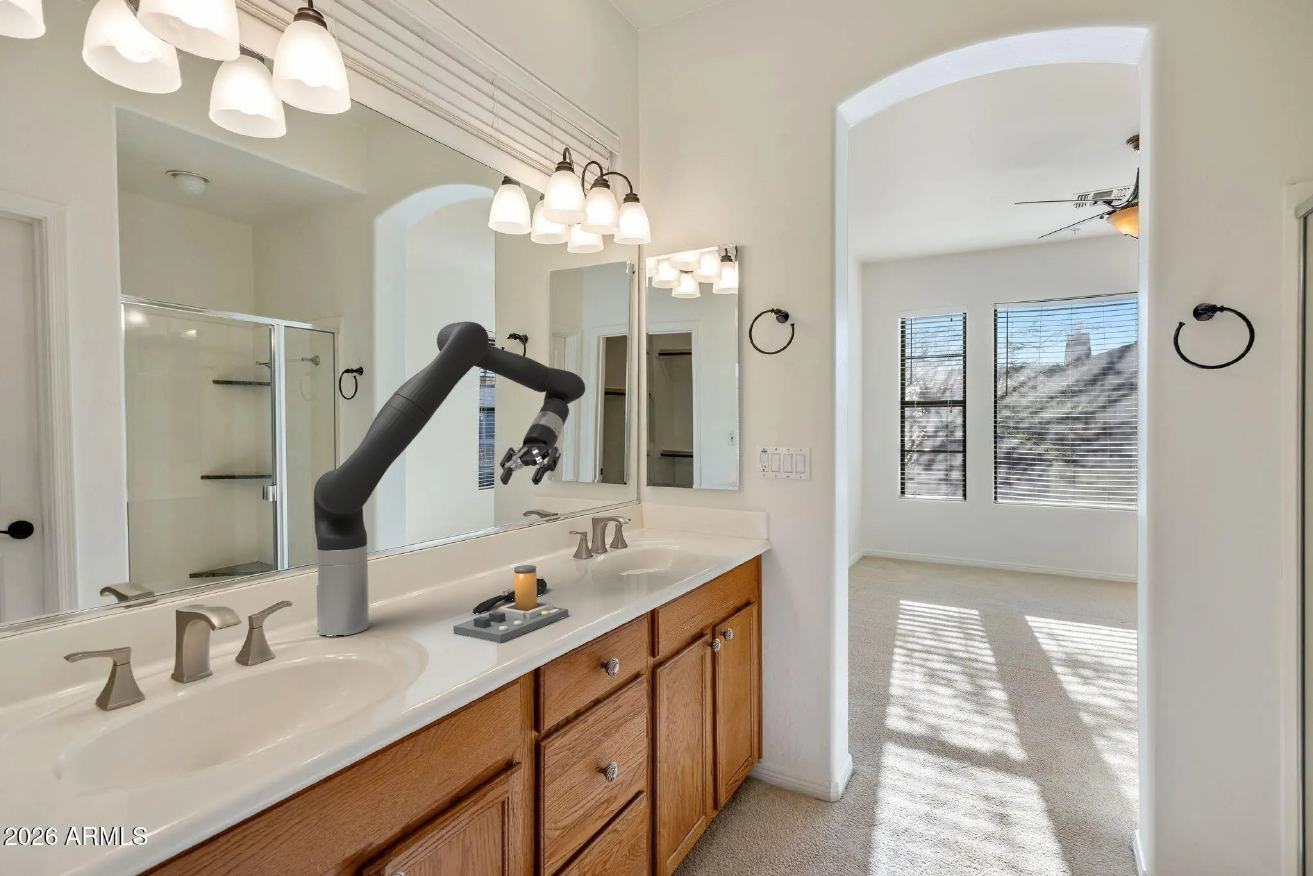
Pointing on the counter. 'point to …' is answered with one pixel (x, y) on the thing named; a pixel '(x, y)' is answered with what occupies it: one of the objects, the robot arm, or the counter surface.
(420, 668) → the counter surface
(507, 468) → the robot arm
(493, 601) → the hairbrush
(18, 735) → the counter surface
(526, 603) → the orange lidded container
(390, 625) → the counter surface
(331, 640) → the counter surface
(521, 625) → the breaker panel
